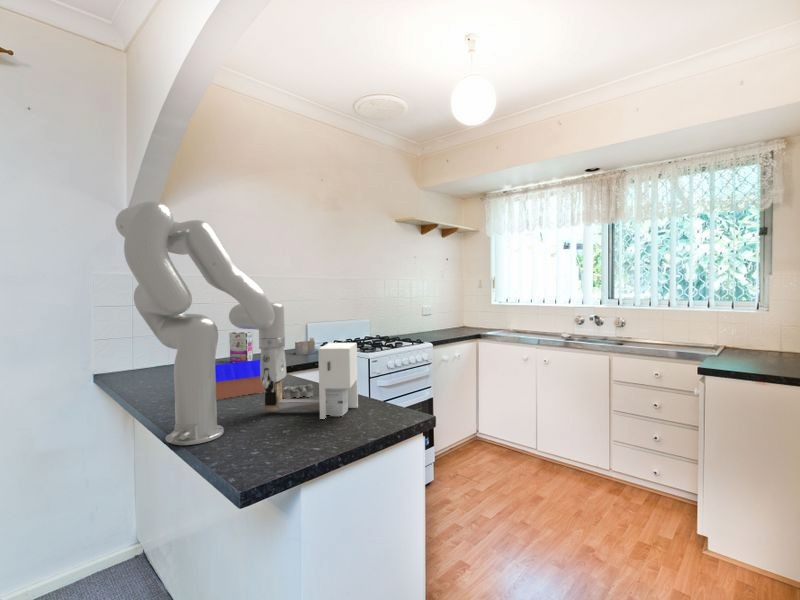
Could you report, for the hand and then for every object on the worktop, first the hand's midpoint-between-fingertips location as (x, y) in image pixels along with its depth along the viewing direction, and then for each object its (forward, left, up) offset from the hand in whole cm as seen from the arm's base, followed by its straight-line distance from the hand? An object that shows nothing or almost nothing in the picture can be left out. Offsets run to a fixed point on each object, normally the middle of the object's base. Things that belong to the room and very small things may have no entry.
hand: (273, 402), depth 122 cm
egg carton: (+20, -1, -4) cm, 21 cm away
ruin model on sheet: (+119, +26, -4) cm, 122 cm away
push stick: (0, -7, -2) cm, 7 cm away
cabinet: (0, -20, -3) cm, 21 cm away
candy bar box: (+90, +52, -4) cm, 104 cm away
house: (+25, +22, -4) cm, 34 cm away
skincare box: (0, -19, -4) cm, 20 cm away
